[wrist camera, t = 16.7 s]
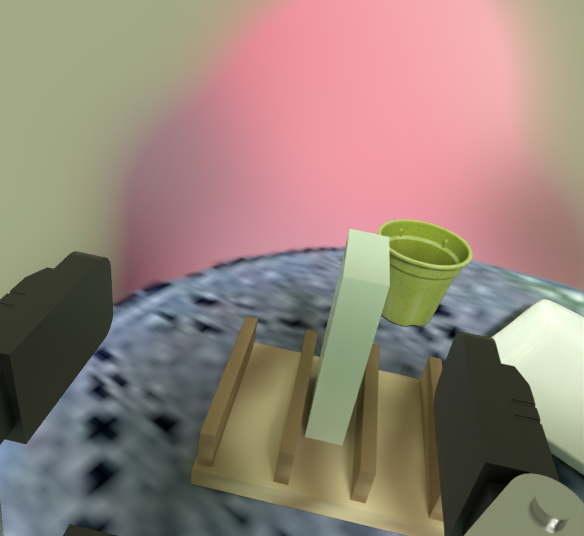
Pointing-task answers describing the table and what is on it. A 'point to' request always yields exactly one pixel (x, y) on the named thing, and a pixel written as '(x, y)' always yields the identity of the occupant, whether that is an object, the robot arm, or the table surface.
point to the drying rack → (319, 454)
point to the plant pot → (420, 268)
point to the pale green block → (349, 335)
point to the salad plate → (551, 372)
